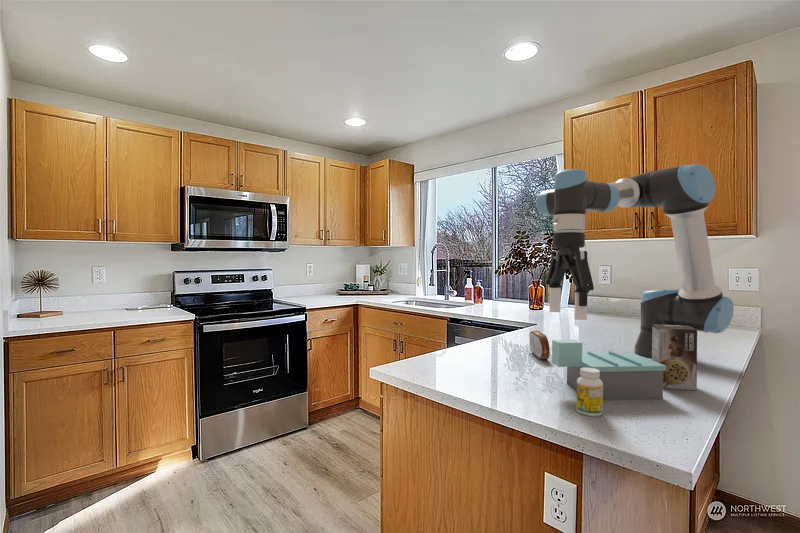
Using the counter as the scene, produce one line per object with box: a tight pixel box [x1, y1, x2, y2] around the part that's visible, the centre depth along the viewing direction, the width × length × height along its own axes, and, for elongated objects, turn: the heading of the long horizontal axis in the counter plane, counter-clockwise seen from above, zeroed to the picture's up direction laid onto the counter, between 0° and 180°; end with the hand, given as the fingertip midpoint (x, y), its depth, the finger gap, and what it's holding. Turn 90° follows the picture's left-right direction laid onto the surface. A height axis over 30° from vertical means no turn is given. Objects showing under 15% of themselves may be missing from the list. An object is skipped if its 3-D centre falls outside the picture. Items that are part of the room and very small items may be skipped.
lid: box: [551, 339, 666, 372], centre depth 109 cm, size 25×14×6 cm, turn 95°
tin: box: [528, 330, 551, 360], centre depth 146 cm, size 15×3×8 cm, turn 179°
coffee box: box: [651, 324, 698, 391], centre depth 114 cm, size 9×6×16 cm
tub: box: [566, 367, 664, 401], centre depth 109 cm, size 18×13×7 cm
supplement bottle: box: [575, 368, 604, 417], centre depth 94 cm, size 5×5×10 cm
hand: (566, 315), depth 107 cm, fingers open, 13 cm apart
